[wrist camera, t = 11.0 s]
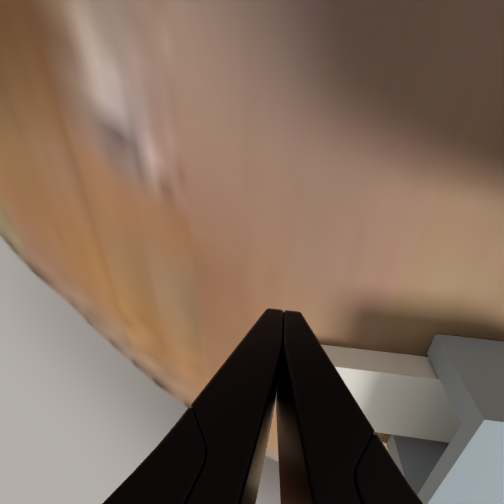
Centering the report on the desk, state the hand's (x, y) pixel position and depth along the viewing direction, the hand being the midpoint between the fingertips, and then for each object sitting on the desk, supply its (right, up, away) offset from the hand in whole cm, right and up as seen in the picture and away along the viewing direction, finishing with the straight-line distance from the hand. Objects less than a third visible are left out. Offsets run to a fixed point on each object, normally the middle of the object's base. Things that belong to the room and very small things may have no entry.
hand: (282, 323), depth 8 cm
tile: (+11, -9, +18) cm, 22 cm away
